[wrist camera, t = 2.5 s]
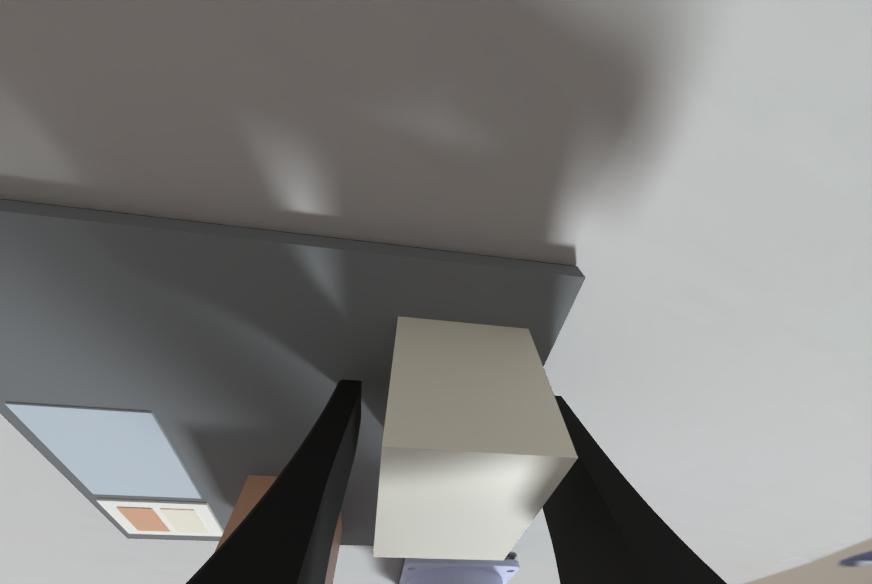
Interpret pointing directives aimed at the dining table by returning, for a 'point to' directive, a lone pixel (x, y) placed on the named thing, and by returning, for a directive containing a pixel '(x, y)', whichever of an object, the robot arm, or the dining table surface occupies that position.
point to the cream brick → (466, 442)
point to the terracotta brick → (251, 496)
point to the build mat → (221, 351)
